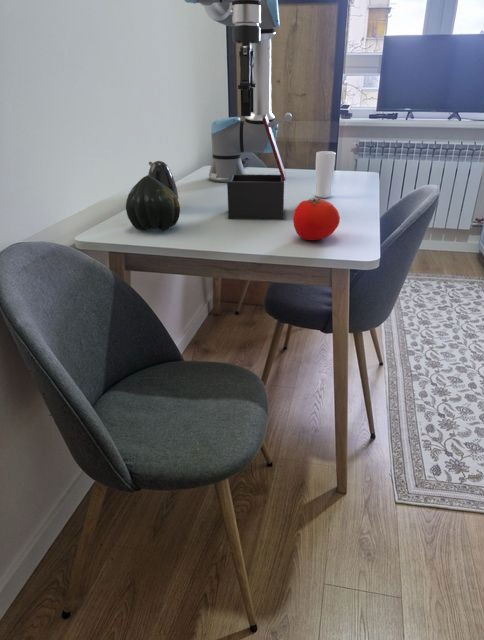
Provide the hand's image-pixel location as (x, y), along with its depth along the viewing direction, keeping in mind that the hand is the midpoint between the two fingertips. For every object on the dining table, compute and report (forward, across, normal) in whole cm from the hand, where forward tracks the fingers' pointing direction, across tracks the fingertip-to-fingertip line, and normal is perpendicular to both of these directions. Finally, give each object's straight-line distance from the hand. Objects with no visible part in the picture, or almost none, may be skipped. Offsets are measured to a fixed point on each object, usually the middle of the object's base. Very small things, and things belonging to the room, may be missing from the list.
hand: (247, 114), depth 137 cm
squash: (+29, +17, -26) cm, 43 cm away
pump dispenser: (+29, -4, -28) cm, 41 cm away
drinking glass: (+29, -25, +26) cm, 46 cm away
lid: (+9, 0, +8) cm, 12 cm away
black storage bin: (+29, 0, +2) cm, 29 cm away
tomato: (+29, +25, +20) cm, 43 cm away
